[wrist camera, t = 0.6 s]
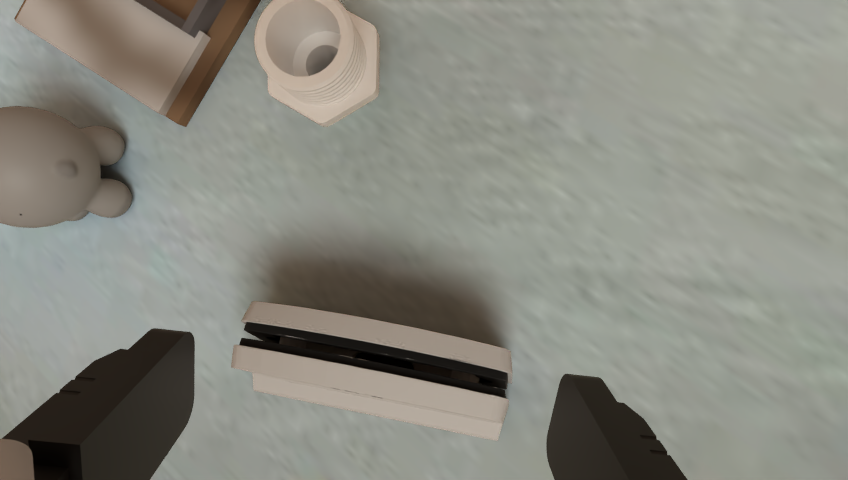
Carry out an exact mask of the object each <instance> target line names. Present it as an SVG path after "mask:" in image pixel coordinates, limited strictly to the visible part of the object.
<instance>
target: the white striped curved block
mask: <svg viewBox="0 0 848 480" xmlns="http://www.w3.org/2000/svg"><path fill="white" fill-rule="evenodd" d="M241 321H242V322H243V323H245V324H246V325H245V328H244V330H245V331H246V332H248V333H250V334H252V335H254V336H256V337H258V338H259V339H261V340H263V341H258V340H252V339H246V338H241V341H240V344H239V345H234V348H233V356H232V365H231V367H232V368H236V369H241V370H245V371H249V372H252V374H253V389H254V391H258V392H263V393H268V394H273V395H277V396H282V397H287V398H292V399H297V400H302V401H307V402H311V403H316V404H321V405H326V406H331V407H336V408H340V409H345V410H350V411H355V412H360V413H365V414H369V415H374V416H379V417H384V418H389V419H394V420H399V421H403V422H408V423H413V424H418V425H423V426H428V427H432V428H437V429H442V430H447V431H452V432H457V433H461V434H466V435H471V436H476V437H481V438H486V439H490V440H495V441H498V438H499V434H500V431H501V428H502V425H503V422H504V419H505V416H506V413H507V410H508V406H509V400H508V399H506V398H505V397H506V396H505V390H503V389H507V383H510V384H512V363H511V351H509V350H507V349H505V348H501V347H497V346H493V345H489V344H485V343H481V342H477V341H472V340H468V339H464V338H460V337H455V336H451V335H446V334H442V333H437V332H433V331H428V330H423V329H419V328H414V327H409V326H404V325H399V324H394V323H389V322H384V321H379V320H374V319H368V318H363V317H358V316H352V315H347V314H340V313H334V312H328V311H322V310H316V309H310V308H303V307H297V306H290V305H282V304H274V303H267V302H259V301H253V302H252V303H251V304H250V306H249V308H248V310H247V312H246V313H245V315H244V317H243V319H242V320H241ZM360 352H363V353H368V354H373V355H378V356H383V357H388V358H394V359H399V360H404V361H409V362H411V363H412V364H413V366H414V370H412V369H407V368H402V367H397V366H392V365H387V364H383V363H378V362H373V361H368V360H363V359H358V358H354V357H355V356H356V355H357V354H358V353H360ZM478 381H479V382H480V383H481V384H478ZM491 386H493V387H491ZM495 387H498V388H495ZM499 388H503V389H499Z"/></svg>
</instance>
